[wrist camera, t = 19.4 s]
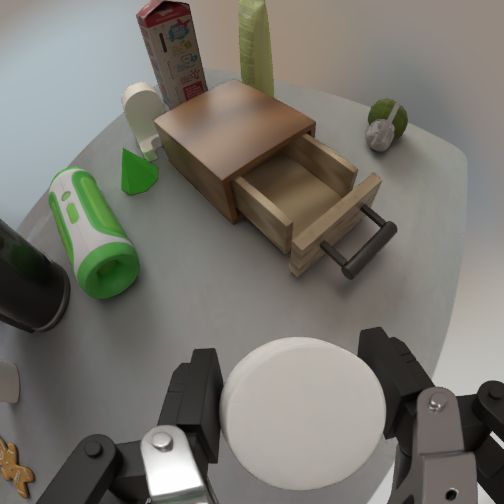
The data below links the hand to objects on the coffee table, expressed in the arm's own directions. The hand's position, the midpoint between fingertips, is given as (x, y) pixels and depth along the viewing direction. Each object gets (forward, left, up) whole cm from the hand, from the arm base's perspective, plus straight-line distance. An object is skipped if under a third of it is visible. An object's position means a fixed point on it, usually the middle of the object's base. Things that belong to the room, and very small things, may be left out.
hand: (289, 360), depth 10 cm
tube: (+24, +31, -16) cm, 42 cm away
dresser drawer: (+13, +10, -15) cm, 23 cm away
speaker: (-7, +26, -16) cm, 31 cm away
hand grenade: (+37, +14, -12) cm, 41 cm away
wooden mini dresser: (+13, +23, -16) cm, 31 cm away
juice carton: (+17, +43, -16) cm, 49 cm away
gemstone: (+2, +31, -16) cm, 35 cm away
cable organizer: (+8, +37, -16) cm, 41 cm away
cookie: (-38, +4, -16) cm, 41 cm away
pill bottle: (-1, -1, -5) cm, 6 cm away
